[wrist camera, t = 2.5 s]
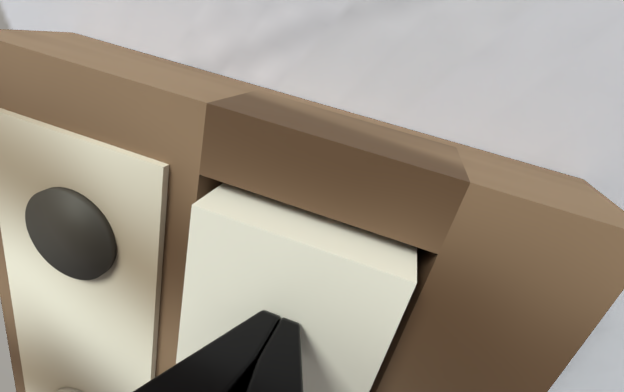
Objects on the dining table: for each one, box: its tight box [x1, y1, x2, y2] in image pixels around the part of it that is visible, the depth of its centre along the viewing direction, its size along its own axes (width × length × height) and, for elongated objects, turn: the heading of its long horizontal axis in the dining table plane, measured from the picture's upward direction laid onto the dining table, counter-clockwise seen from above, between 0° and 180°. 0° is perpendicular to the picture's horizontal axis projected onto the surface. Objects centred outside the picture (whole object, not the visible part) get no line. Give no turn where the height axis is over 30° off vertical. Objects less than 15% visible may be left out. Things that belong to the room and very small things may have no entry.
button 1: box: [176, 183, 417, 392], centre depth 9 cm, size 4×4×3 cm
